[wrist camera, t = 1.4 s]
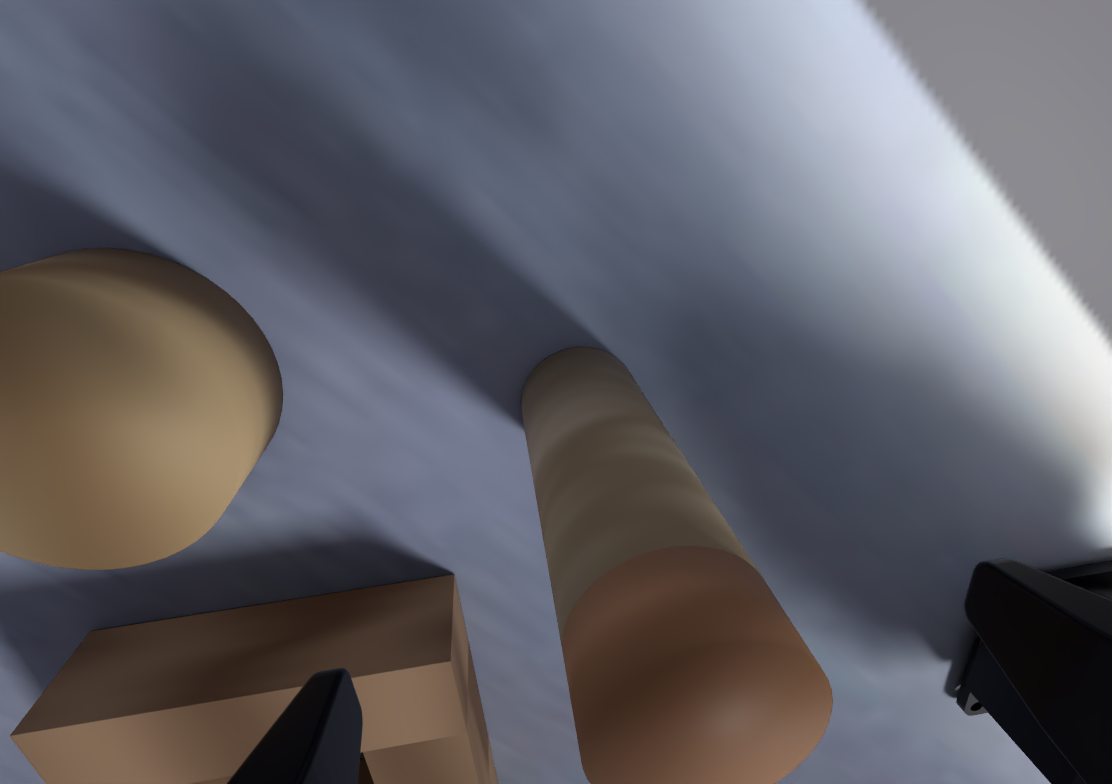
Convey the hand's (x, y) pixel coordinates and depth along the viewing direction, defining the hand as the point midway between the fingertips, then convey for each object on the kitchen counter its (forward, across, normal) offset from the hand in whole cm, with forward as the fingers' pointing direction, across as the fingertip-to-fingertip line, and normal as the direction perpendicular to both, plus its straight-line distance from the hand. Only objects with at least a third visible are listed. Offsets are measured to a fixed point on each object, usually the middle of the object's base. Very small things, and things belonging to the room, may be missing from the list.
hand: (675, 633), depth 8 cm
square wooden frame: (+8, +9, +10) cm, 15 cm away
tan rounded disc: (+8, +10, -2) cm, 13 cm away
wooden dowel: (+8, 0, 0) cm, 8 cm away
